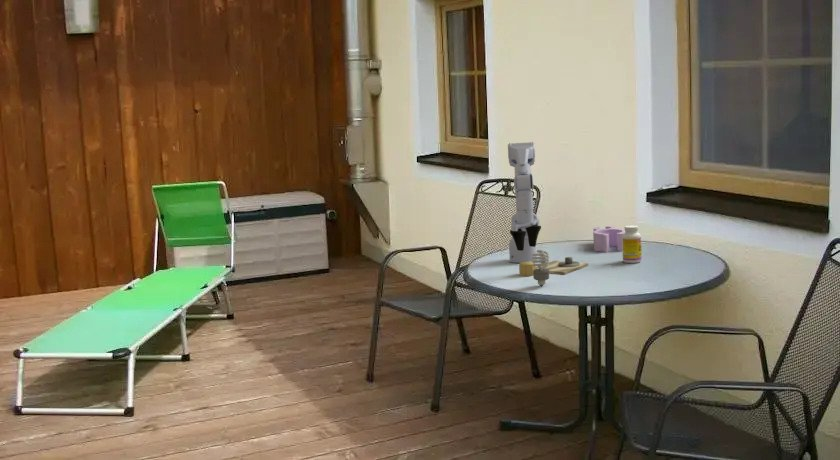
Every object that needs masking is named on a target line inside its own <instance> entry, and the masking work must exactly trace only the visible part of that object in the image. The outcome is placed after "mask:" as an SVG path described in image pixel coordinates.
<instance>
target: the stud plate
mask: <svg viewBox="0 0 840 460" xmlns="http://www.w3.org/2000/svg"><path fill="white" fill-rule="evenodd" d="M545 265H547V264H545ZM545 265H542V266H541V267H543V266H545ZM588 266H589V263H587V262H579V261H577V260H575V261H573V257H572V256H566V257H564V260H552V261H549V266H548V267H546V268H545V269H548V270H549V274H556V275H568V274H570V273H573V272H575V271H578V270H581V269H583V268H586V267H588ZM536 269H539V267H538V266H536Z"/></svg>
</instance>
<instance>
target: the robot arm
mask: <svg viewBox="0 0 840 460" xmlns="http://www.w3.org/2000/svg"><path fill="white" fill-rule="evenodd" d="M507 155H508V156H507V157H508V158H507V159H508V164H509V166H510V167H513V168H514V177H513V187H514V190H513V191H514V195H515V206H516V208H515V209H516V210H515V211H516V212H515V213H514V214H513V215H512V217H511V222H510V223H511V226H510V227H511V229H510V230H509V232H510V235H511V236H512V237H511V238H510V239H509V242H508V244H509V245H508V250H509V251H508V253H509V260H508V262H509V263H516V264H517V263H521V262H532V261H533V259H532V257H537V256H532V254H535V253H537V248H536V246H537V242H538V236H539V233H540V231H541V230H542V226H541V225H540V219H539V218H538V215H537V214H536V213H534V202H533V201H534V197H533V191H534V177H533V174H532V168H531V166H533V165H535V162H536V146H535V142H534V141H531V142H530V141H529V142H515V143H513V142H512V143H511V142H508V144H507ZM535 260H542V259H535Z"/></svg>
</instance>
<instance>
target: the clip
mask: <svg viewBox="0 0 840 460" xmlns="http://www.w3.org/2000/svg"><path fill="white" fill-rule="evenodd" d="M604 227H605V228H601V227H600V226H593V228H592V229H593V233H592V235H593V250H594V251H597V252H603V253H604V254H607V253H609V252H610V247H617V251H618V252H623V249H622V235H623V234H624V233H625V229H623V228H616V227H615V226H611V225H605V226H604Z"/></svg>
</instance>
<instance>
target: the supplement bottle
mask: <svg viewBox="0 0 840 460" xmlns="http://www.w3.org/2000/svg"><path fill="white" fill-rule="evenodd" d="M624 230H625V233H624V234H623V235H622V249H623V251H622V262H624V263H627V264H636V263H641V262H642V258H643V256H642V235H641V233H640V232H639V231H638V230H639V226H638V225H631V224H630V225H625V226H624Z"/></svg>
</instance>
